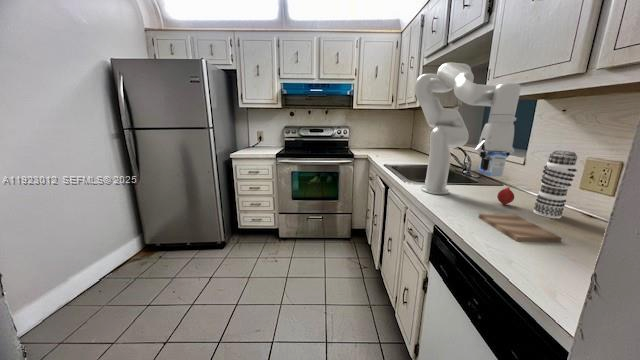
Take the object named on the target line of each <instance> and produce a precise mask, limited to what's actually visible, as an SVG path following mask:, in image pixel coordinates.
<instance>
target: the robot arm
mask: <svg viewBox="0 0 640 360" xmlns="http://www.w3.org/2000/svg"><path fill="white" fill-rule="evenodd" d="M474 78H475V77H474V74H473V72H472V68H471V66H470V65H469V64H467V63H459V62H451V61H450V62H445V63H443V64H441V65H440V66H439V67H438V69H437V72H436V73H424V74H422V75H420V76H418V78H417V79H416V80H415V84H414V94H415V97H416V100H417V102H418V104H419V105H420V107H421V109H422V112H423V114H424V115H423V116H424V118H425V121H426V123H427V125H428V126H429V127H430V128H433V129H432V130H431V132H430V133H429V155H428V161H427V169H426V177H425V180H424V182H425V184H424V185H421V186H420V187H421V189H420V190H421V191H422V192H425V193H428V194H433V195H439V196H440V195H448V194H449V193H450V191H449V189H447V183H448V177H449V172H450V165H451V160H452V159H451V158H452V154H451V151H450V147H453V148H457V147H463V146H465V145H466V144H467V143H468V141H469V131H468V128H467V126H466V124H465V121H464V119H463V117H462V115H461V113H460V111H458V110H457V109H454V108H447V107H443V105H442V104H441V102H440V99H439V98H438V97H437V96H436V94H434V93H448V92H450V91H452V90H453V93H454V96H455V97H456V99H458V100H460V101H461V102H463V103H464V104H466V105H469V106H475V107H477V106H478V107H479V106H481V107H490V111H489V115H488V121H487V123H485V124H484V126H483V128H482V131H481V134H480V137H479V141H478V145H477V146H476V147H475V148H474V151H475V152H476V153H477V154H478V155H479V157H480V161H481V165H480V164H479V165H480V166H481V167H480V168H481V169H483V170H487V169H488V164H489V160H488V158H489V155H490V153H491V152H502V153H506V154H507V157H506V159H507V158H508V157H509V156H510V155H512V154H513V153H515V148H514V147H513V145H514V137H515V124H514V122H516V121H517V117H515V116H516V112H517V107H518V103H519V99H520V93H521V89H522V87H521V84H520V83H513V82H511V83H509V82H507V83H505V82H504V83H500V84H497V85H493V84H492V85H490V84H478V83H474ZM482 151H483V152H482ZM481 158H482V160H481Z"/></svg>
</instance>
